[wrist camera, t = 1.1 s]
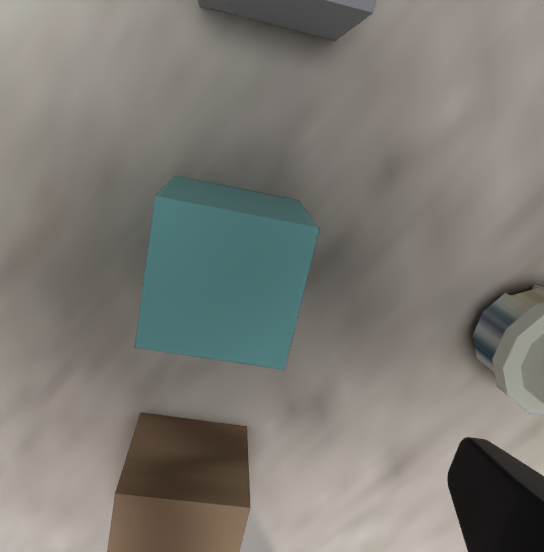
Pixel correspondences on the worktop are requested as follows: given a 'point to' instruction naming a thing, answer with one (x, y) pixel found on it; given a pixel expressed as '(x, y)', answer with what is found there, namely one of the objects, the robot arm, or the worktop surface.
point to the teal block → (224, 273)
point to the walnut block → (182, 488)
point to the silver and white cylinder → (515, 346)
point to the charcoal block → (300, 13)
